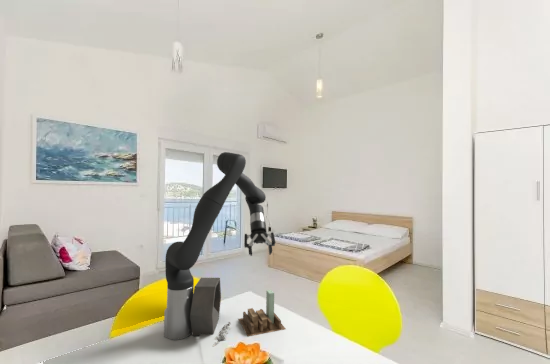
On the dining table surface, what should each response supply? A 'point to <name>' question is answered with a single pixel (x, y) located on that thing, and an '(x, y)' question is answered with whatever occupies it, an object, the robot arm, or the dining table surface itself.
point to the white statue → (223, 333)
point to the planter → (205, 306)
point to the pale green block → (270, 305)
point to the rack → (260, 325)
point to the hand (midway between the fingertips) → (260, 254)
